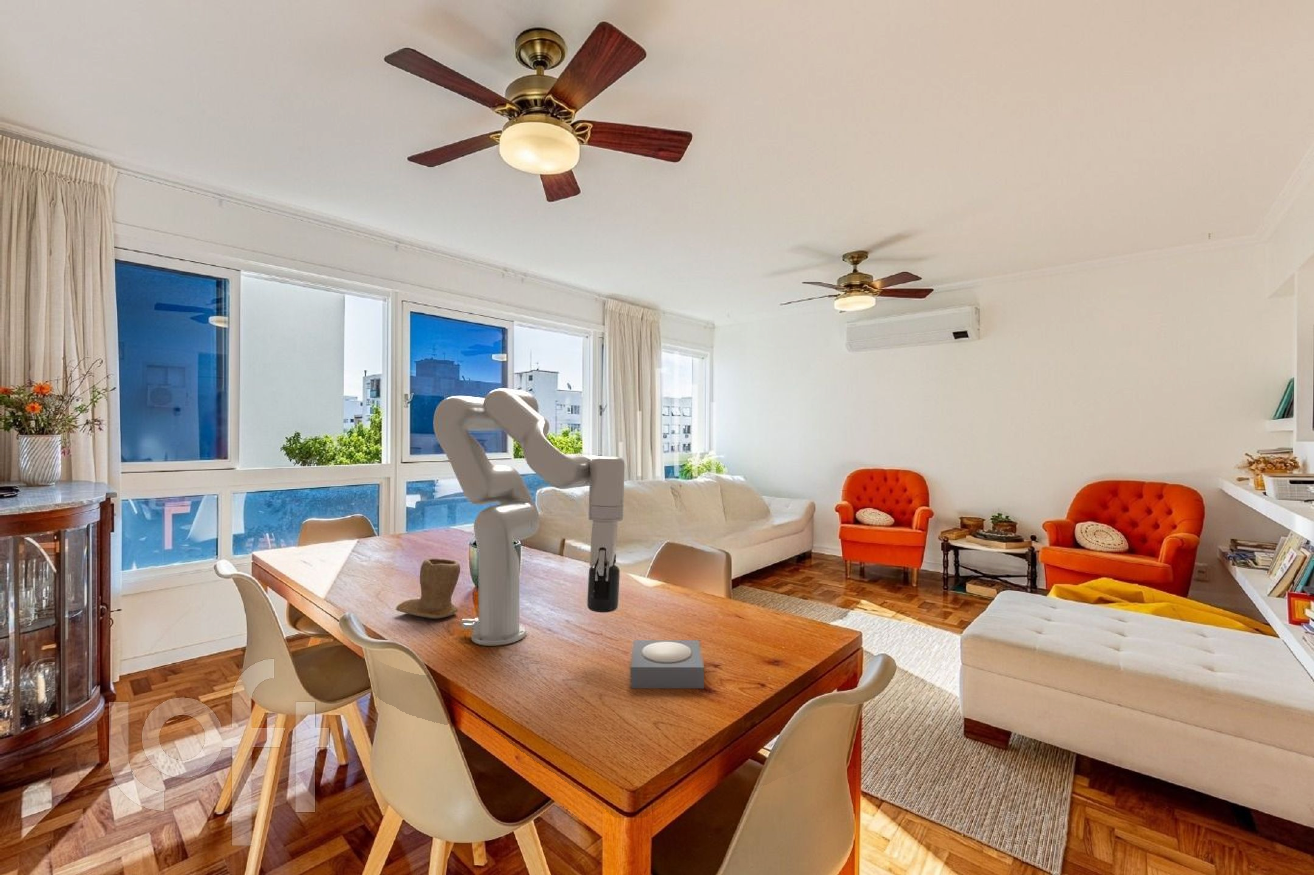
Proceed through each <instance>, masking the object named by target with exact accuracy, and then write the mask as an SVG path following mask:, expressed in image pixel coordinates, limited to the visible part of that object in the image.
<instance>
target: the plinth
mask: <svg viewBox="0 0 1314 875" xmlns="http://www.w3.org/2000/svg"><path fill="white" fill-rule="evenodd" d="M630 689H705V665H704V661H703V657H702V653H701V647H700V640H699V639H697V640H694V639H693V640H690V639H688V640H687V639H686V640H685V639H684V640H683V639H681V640H680V639H679V640H678V639H677V640H676V639H675V640H674V639H673V640H671V639H668V640H667V639H666V640H665V639H663V640H662V639H660V640H659V639H648V640H647V639H645V640H644V639H642V640H640V639H639V640H638V639H634V640H633V643H632V653H631V661H630Z"/></svg>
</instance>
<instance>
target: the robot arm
mask: <svg viewBox="0 0 1314 875" xmlns="http://www.w3.org/2000/svg"><path fill="white" fill-rule="evenodd" d="M537 401H538V400H537V399H536V398H535V397H534V396H533V394H531V393H529V391H528V392H527V391H525V390H520V389H519V390H518V389H509V388H497V389H494V390H491V391H490V392H488V393H487V394H486V396H484V397H478V396H477V397H475V396H469V395H467V396H466V395H455V396H450V397H446V398H445V399H442V400H441V401H440V402H439V403H438V404H437V406H436V409H435V411H434V414H433V423H432V424H433V426H432V427H433V432H434V434H435V435H434V436H435V437H436V440H437V442H438V443H439V445H440V448H442V451H443V452H444V454H445V456H446V457H447V459H448V460H449V464H450V465H451V468H452V471H453V472H454V475H455V476H456V479H457V481H458V484H459V485H460V489H461V490H462V492H463V494H464V497H465V498H466V500H468V502H469V503H471V504H473V505H479V506H481V505H482V506H483V505H490V506H487V507H486V508H484V509H482V510H481V511H480V512H479V513H478V514H477V516H476V517H475V519H474V522H473V534H474V538H475V543H476V548H477V549H476V551H477V565H478V567H477V568H478V569H477V570H478V572H477V574H478V580H477V581H478V582H477V583H478V585H477V586H478V588H477V589H478V591H477V592H478V595H477V597H478V599H477V600H478V602H477V604H478V610H477V611H478V613H477V615H478V616H477V617H475V618H474V619H473V618H462V619H461V622H460V626H461V628H462V629H463V630H472V633H471V636H470V637H471V641H472V642H473V643H475V644H476V645H480V646H488V647H489V646H496V647H497V646H504V645H509V644H513V643H516V642H518V641H520V640H522V639H523V638H525V636H526V634H527V628H526V627H525V626H524V625H521V624H520V558H519V555H518V551H517V549H516V548H515V544H514V542H517V541H518V542H519V541H521V540H525V539H528V538H530V537H532V536H534V535H535V534H536V533H537V531H538V530H539V527H540V524H541V523H540V521H541V519H540V514H539V511H538V509H537V506H536V504H535V501H534V499H533V497H532V495H531V493H530V491H529V489H528V486H527V485H526V482H525V481H524V479H523V477H522V475H521V474H520V472H518V470H516V469H515V468H514V467H512V466H510V465H506V464H493V463H492V462H490V459H489V458H488V456H487V454H486V450H485V449H484V447H483V446H482V445H481V443H480V442H479V441H478V440H477V439H476V438H475V437H474V436H473V435H472V434H471V433H470V431H476V432H478V431H479V432H488V431H489V432H490V431H498V430H502V431H503V432H504V433H506V434H507V436H509V437H510V438H511V439H512V440H513V441H514V442H516V443H517V444H518V445H519V446H520V447H521V451H522V455H523V457H524V459H525V461H526V464H527V465H528V467H529V468H530V469H531V470H532V471H533V472H534V473H535V474H536V475H538V477H540V478H541V479H542V480H543V481H544V482H546V483H547V484H548V485H550V486H552V487H553V488H555V489H560V490H567V489H573V488H583V487H589V488H588V489H589V492H588V494H589V495H588V520H589V521H592V523H591V524H592V525H591V537H590V552H589V567H593V566H595V564H596V575H595V580H594V599H599V600H608V599H609V590H610V580H608V579H609V568H610V567H612V565H613V562H614V556H615V554H616V552H617V542H618V540H617V538H618V537H617V536H618V522H621V521H623V520H624V499H625V498H624V496H625V494H624V493H625V467H626V466H625V460H624V459H623V458H622V457H620V456H616V455H615V456H612V455H610V456H609V455H594V454H590V453H563V452H562V451H561V450H560V449H558V448H557V447H555V446H554V445H553V444H552V443H551V442H550V441H549V440H548V439H547V438H546V437H547V436H548V433H549V431H550V423H549V421H548V420H547V419H546V417H544V416H543V415H541V414H540V413H539V410H540V408H539V404H538V402H537ZM496 503H498V504H496ZM491 504H494V505H491ZM605 555H606V556H605ZM607 561H608V563H607ZM604 564H607V566H604ZM604 569H606V571H605V570H604Z"/></svg>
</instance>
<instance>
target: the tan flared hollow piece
mask: <svg viewBox="0 0 1314 875" xmlns="http://www.w3.org/2000/svg"><path fill="white" fill-rule="evenodd" d="M460 574H461V565H460V563H459V562H458V561H456V560H452V559H445V558H434V557H433V558H430V557H429V558H425V559H424V561H423V562H422V563H421V565H420V570H419V585H420V592H421V595H420V598H413V599H409V600H405V601H403V602H400V603H399V604H398V605H397V606H395V607H396V608H395V610H396V611H397V612H400V613H404V614H409V615H412V616H417V617H421V618H426V619H427V618H428V619H443V618H447V617H450V616H452V615H453V616H454V614H456V613H457V612H459V607H457V606H456V605H454V604H453V603H452V597H453V594H454V591H455V589H456V587H457V583H458V581H459V578H460Z"/></svg>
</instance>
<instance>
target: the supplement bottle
mask: <svg viewBox="0 0 1314 875" xmlns="http://www.w3.org/2000/svg"><path fill="white" fill-rule="evenodd" d="M605 556H606V555H605ZM607 563H608V561H607ZM616 563H617V554H616V553H615V556H614V562H613V565H612V567H610V568H609V579H608V580H610V590H609V599H608V600H599V599H594V580H595V575H596V564H595V566H593V567H591V566H589V569H588V576H587V577H588V580H587V599H586V600H587V602H586V607H587V609H588V610H589V611H592V612H595V613H604V614H605V613H611V612H615V611H616V610H617V609H618V608H619V598H620V596H619V595H620V594H619V593H620V579H621V578H620V577H621V576H620V575H621V574H620V573H621V572H620V568H619V566H618V565H616ZM604 566H607V564H604ZM604 570H605V571H606V569H604Z"/></svg>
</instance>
